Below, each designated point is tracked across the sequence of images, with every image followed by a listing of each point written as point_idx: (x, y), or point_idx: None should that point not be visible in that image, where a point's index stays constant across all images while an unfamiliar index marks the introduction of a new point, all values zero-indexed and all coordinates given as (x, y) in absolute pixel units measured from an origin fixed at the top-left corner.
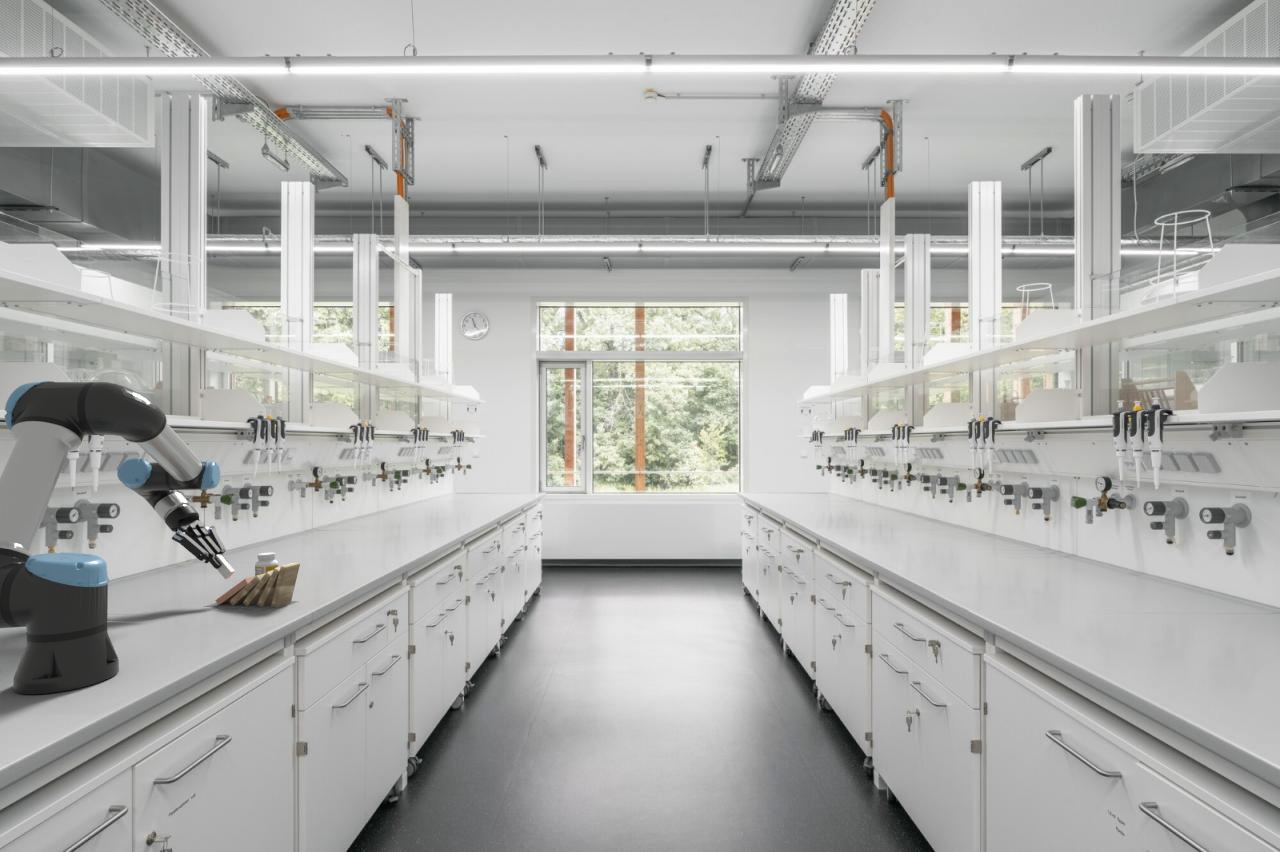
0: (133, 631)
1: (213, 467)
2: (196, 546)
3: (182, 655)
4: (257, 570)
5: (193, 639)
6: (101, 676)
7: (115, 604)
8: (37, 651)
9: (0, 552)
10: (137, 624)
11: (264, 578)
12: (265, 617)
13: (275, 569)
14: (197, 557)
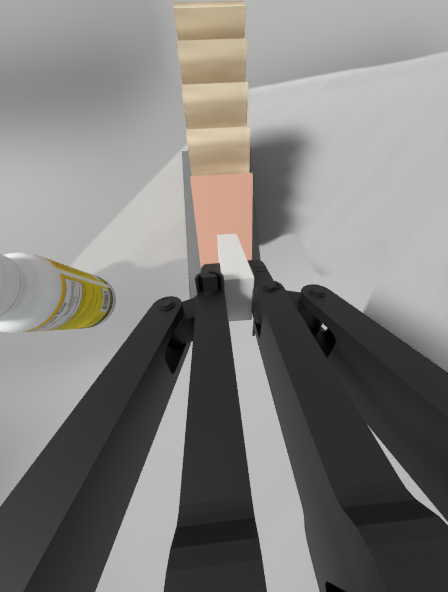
0: (435, 277)
1: None
2: (401, 342)
3: None
4: (72, 298)
5: (425, 140)
6: None
7: (296, 588)
8: None
9: None
10: (402, 318)
11: (246, 113)
12: (290, 133)
13: (246, 42)
14: (326, 338)
